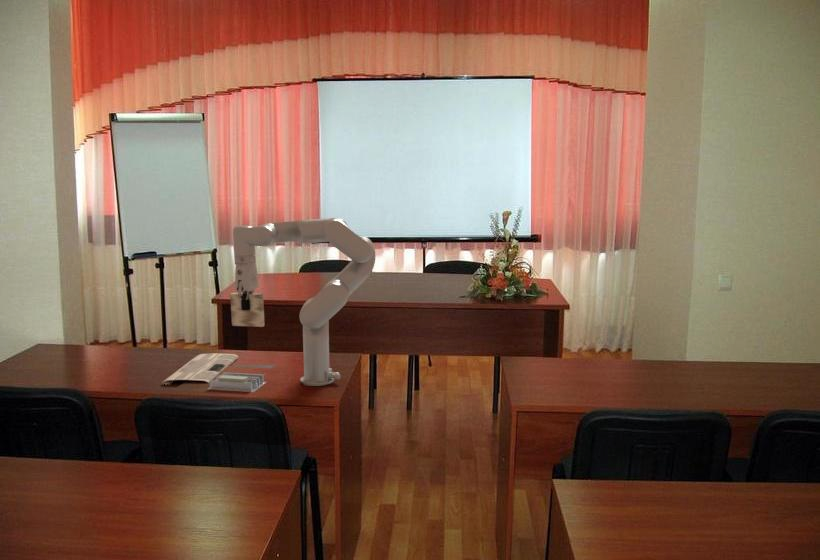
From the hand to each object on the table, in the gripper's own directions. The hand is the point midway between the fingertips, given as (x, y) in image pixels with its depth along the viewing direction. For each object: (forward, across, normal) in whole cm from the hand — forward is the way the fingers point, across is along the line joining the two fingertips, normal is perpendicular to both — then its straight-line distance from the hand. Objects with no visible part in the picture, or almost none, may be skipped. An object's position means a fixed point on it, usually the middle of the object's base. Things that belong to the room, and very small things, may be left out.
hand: (247, 309), depth 276 cm
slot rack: (+28, -7, +2) cm, 29 cm away
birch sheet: (+6, 0, 0) cm, 6 cm away
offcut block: (+27, -10, +2) cm, 29 cm away
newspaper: (+29, +10, +26) cm, 40 cm away
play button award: (+29, +10, +6) cm, 31 cm away
